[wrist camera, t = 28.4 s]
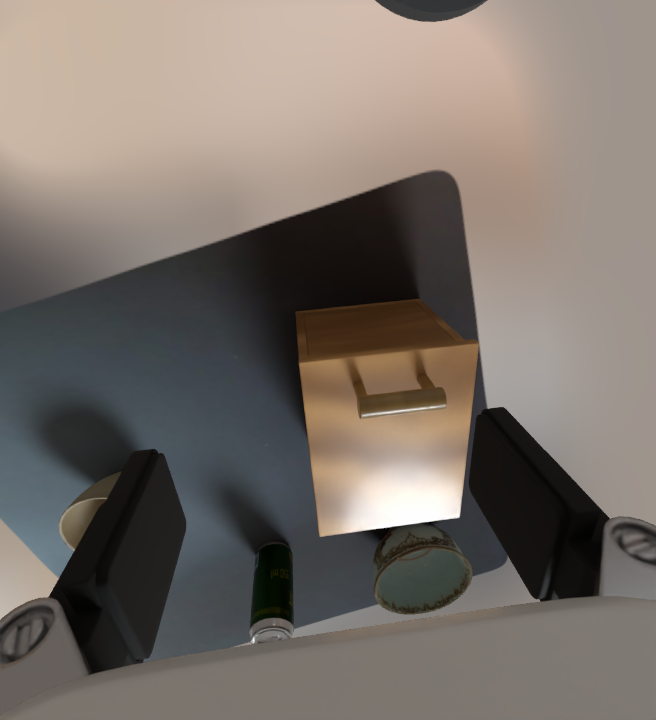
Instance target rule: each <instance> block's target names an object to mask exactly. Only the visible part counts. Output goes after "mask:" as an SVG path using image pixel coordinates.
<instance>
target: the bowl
mask: <svg viewBox="0 0 656 720" xmlns="http://www.w3.org/2000/svg"><path fill="white" fill-rule="evenodd" d="M372 572H373V582H374V595H375V599H376V601H377V602H378V603H379V604H380V605H381V606H382V607H383V608H385V609H386V610H388V611H391V612H394V613H398V614H420V613H427V612H431V611H434V610H437V609H440V608H442V607H445V606H447V605H449V604H451V603H452V602H454V601H455V600H456V599H458V598H459V597H460V596H461V595H462V594H463V593H464V592H465V591H466V589H467V588H468V586H469V585H470V583H471V580H472V574H473V573H472V567H471V564H470V563H469V561H468V560H467V558H466V557H465V556H463V554H462V552H461V551H460V549H459V547H458V546H457V544H456V543H455V542H454V541H453V539H452V538H451V537H450V536H449V535H448V534H446V533H445V532H444V531H442V530H441V529H439V528H437V527H435V526H433V525H430V524H427V523H416V524H409V525H402V526H395V527H391V528H390V530H389V531H388V533H387V534H386V535H385V536H384V538H383V539H382V540H381V542H380V543H379V545H378V547H377V549H376V552H375V555H374V559H373V565H372Z"/></svg>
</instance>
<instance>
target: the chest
mask: <svg viewBox="0 0 656 720" xmlns="http://www.w3.org/2000/svg"><path fill="white" fill-rule="evenodd" d="M295 314H296V327H297V340H298V354H299V358H307V357H316V356H325V355H334V354H343V353H352V352H362V351H371V350H380V349H389V348H398V347H407V346H416V345H426V344H435V343H444V342H453V341H462V340H464V339H463V338H462V337H461V336H460V335H458V334H457V333H456V332H455V331H454V330H453V329H452V328H451V327H450V326H449V325H448V324H447V323H445V322H444V321H443V320H442V319H441V318H440V317H439V316H438V315H437V314H436V313H435V312H434V311H432V310H431V309H430V308H429V307H428V306H427V305H426V304H425V303H424V302H423V301H422V300H421V299H412V300H402V301H392V302H382V303H372V304H363V305H353V306H343V307H333V308H324V309H314V310H304V311H296V312H295Z"/></svg>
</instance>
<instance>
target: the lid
mask: <svg viewBox="0 0 656 720" xmlns="http://www.w3.org/2000/svg"><path fill="white" fill-rule="evenodd" d="M478 347H479V343H478V342H477V341H476V340H475V339H471V340H462V341H453V342H444V343H435V344H426V345H416V346H407V347H398V348H389V349H380V350H371V351H362V352H352V353H343V354H334V355H325V356H316V357H307V358H299V369H300V377H301V386H302V394H303V403H304V411H305V419H306V428H307V436H308V445H309V453H310V461H311V470H312V478H313V487H314V495H315V503H316V512H317V520H318V528H319V536H320V537H322V536H329V535H336V534H344V533H351V532H358V531H365V530H373V529H380V528H387V527H395V526H402V525H409V524H416V523H424V522H431V521H438V520H446V519H453V518H459V517H460V511H461V502H462V493H463V484H464V474H465V465H466V456H467V447H468V438H469V429H470V420H471V411H472V402H473V393H474V384H475V375H476V366H477V357H478Z"/></svg>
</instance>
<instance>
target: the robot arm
mask: <svg viewBox="0 0 656 720" xmlns="http://www.w3.org/2000/svg"><path fill="white" fill-rule="evenodd" d="M469 487H470V491H471V493H472V495H473V497H474V498H475V500H476V502H477V504H478V505H479V507H480V509H481V510H482V512H483V514H484V516H485V517H486V519H487V521H488V522H489V524H490V526H491V527H492V529H493V531H494V533H495V534H496V536H497V538H498V539H499V541H500V543H501V545H502V546H503V548H504V550H505V551H506V553H507V555H508V557H509V558H510V560H511V562H512V563H513V565H514V567H515V568H516V570H517V572H518V574H519V575H520V577H521V579H522V580H523V582H524V584H525V586H526V587H527V589H528V591H529V592H530V594H531V595H532V596H533V598H535V599H540V601H541V602H535V603H527V604H520V605H511V606H504V607H497V608H490V609H484V610H477V611H470V612H463V613H457V614H450V615H443V616H436V617H429V618H422V619H415V620H409V621H402V622H395V623H389V624H382V625H376V626H369V627H362V628H356V629H349V630H343V631H336V632H330V633H324V634H316V635H310V636H303V637H297V638H291V639H284V640H278V641H272V642H265V643H259V644H253V645H246V646H240V647H234V648H227V649H221V650H215V651H208V652H202V653H196V654H190V655H184V656H179V657H173V658H167V659H162V660H156V661H150V662H145V663H143V660H144V659H146V658H149V657H150V655H151V653H152V650H153V647H154V643H155V639H156V636H157V632H158V629H159V625H160V621H161V618H162V614H163V611H164V607H165V603H166V600H167V596H168V593H169V589H170V586H171V582H172V578H173V575H174V571H175V568H176V564H177V560H178V557H179V553H180V550H181V546H182V542H183V539H184V535H185V531H186V519H185V516H184V513H183V510H182V507H181V504H180V501H179V498H178V495H177V492H176V489H175V486H174V483H173V480H172V477H171V474H170V471H169V468H168V465H167V462H166V459H165V456H164V454H163V453H159V454H158V452H157V450H156V449H150V450H142V451H135V452H133V453H132V454H131V456H130V458H129V459H128V461H127V463H126V465H125V467H124V469H123V470H122V472H121V474H120V476H119V478H118V479H117V481H116V483H115V485H114V487H113V489H112V490H111V492H110V494H109V496H108V498H107V499H106V501H105V503H103V504H102V505H101V506H100V507H99V508H98V510H97V512H96V513H95V515H94V517H93V519H92V521H91V522H90V524H89V526H88V528H87V529H86V531H85V533H84V535H83V537H82V538H81V540H80V542H79V544H78V546H77V547H76V549H75V551H74V553H73V554H72V556H71V558H70V560H69V562H68V563H67V565H66V567H65V569H64V571H63V572H62V574H61V576H60V578H59V580H58V581H57V583H56V585H55V587H54V588H53V590H52V592H51V594H50V596H49V597H48V598H38V599H35V600H31V601H28V602H26V603H25V604H23V605H21V606H19V607H17V608H15V609H14V610H12V611H11V612H10V613H8V614H7V615H5V616H4V617H3V618H2V619H1V620H0V720H656V526H655V525H653V524H650V523H648V522H645V521H643V520H640V519H636V518H631V517H615V518H611V519H610V518H609V517H608V516H607V515H606V514H605V513H604V512H603V511H602V510H601V509H600V508H599V507H598V506H597V505H596V504H595V502H594V501H593V500H592V499H591V498H590V497H589V496H588V495H587V494H586V493H585V492H584V491H583V490H582V489H581V488H580V487H579V485H578V484H577V483H576V482H575V481H574V480H573V479H572V478H571V477H570V476H569V475H568V474H567V473H566V472H565V471H564V470H563V469H562V467H560V465H559V464H558V463H557V462H556V461H555V460H554V459H553V458H552V457H551V456H550V455H549V454H548V453H547V452H546V451H545V450H544V449H543V448H542V447H541V446H540V445H539V444H538V443H537V442H536V441H535V439H534V438H533V437H532V436H531V435H530V434H529V433H528V432H527V431H526V430H525V429H524V428H523V427H522V426H521V425H520V423H519V422H517V420H516V419H515V418H514V417H513V416H512V415H511V414H510V413H509V412H508V411H507V410H506V409H505V408H504V407H499V408H490V409H484V410H483V411H482V413H481V415H478V416H477V418H476V425H475V433H474V442H473V450H472V458H471V467H470V475H469Z"/></svg>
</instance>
